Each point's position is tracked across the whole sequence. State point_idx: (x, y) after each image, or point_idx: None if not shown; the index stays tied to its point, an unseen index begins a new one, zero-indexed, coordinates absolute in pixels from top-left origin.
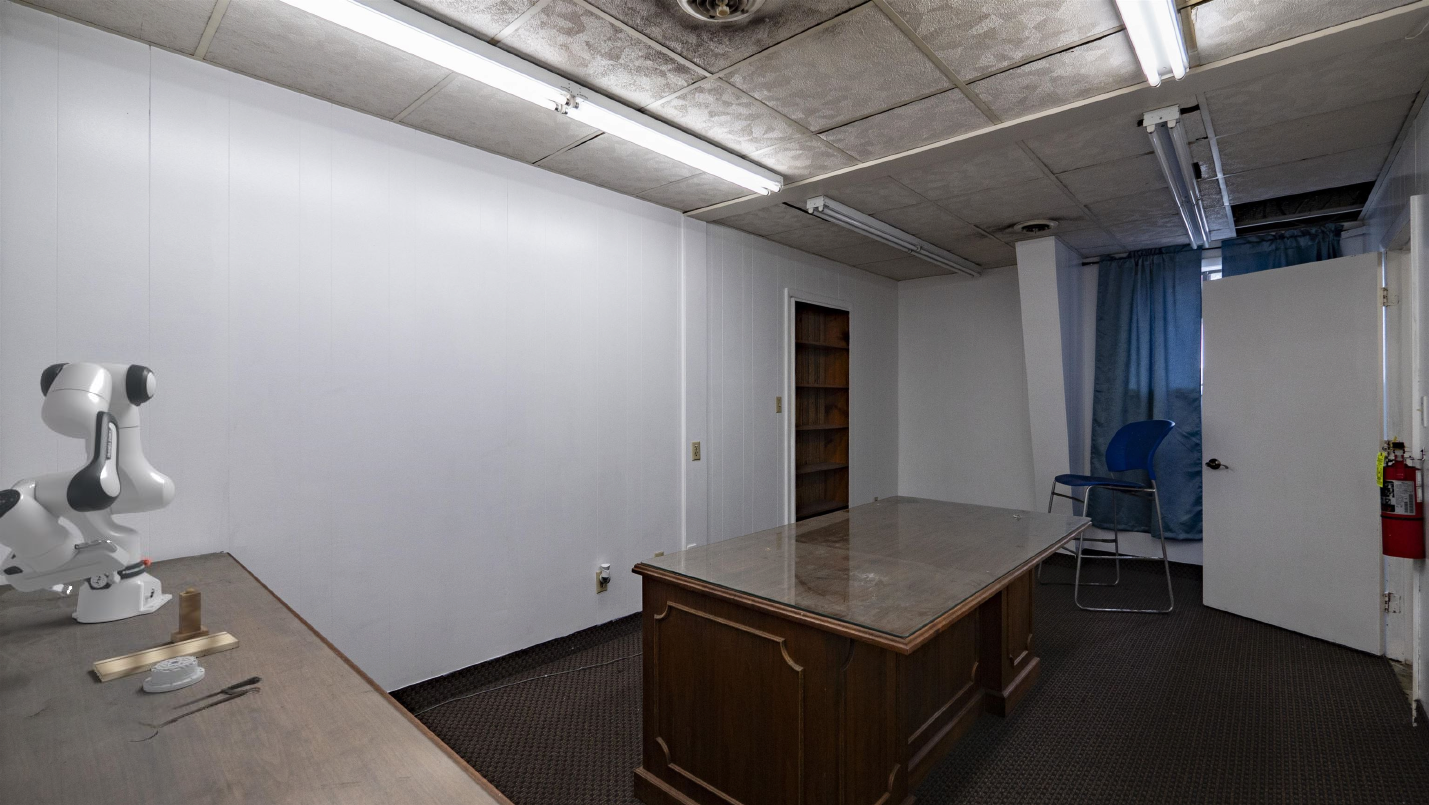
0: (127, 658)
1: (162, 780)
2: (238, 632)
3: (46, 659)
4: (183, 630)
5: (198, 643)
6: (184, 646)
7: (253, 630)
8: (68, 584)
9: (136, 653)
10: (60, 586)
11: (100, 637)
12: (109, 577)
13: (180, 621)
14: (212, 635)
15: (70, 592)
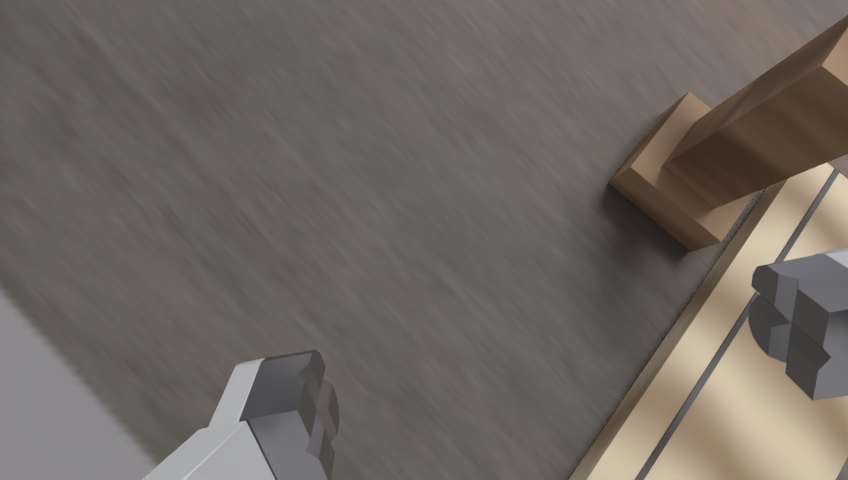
0: (675, 451)
1: None
2: None
3: (232, 364)
4: (728, 202)
5: None
6: None
7: None
8: (298, 411)
9: (662, 390)
10: (238, 476)
11: (255, 106)
12: (846, 356)
13: (717, 163)
14: (796, 190)
15: (330, 396)
